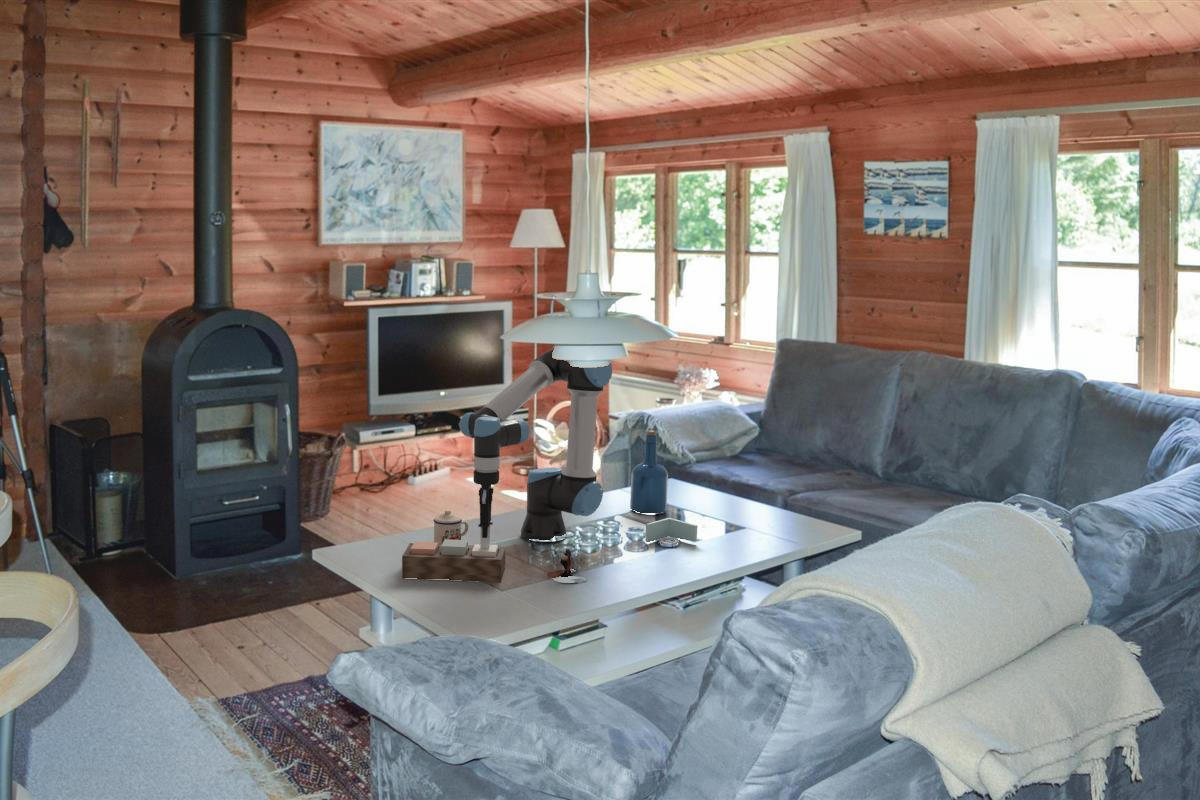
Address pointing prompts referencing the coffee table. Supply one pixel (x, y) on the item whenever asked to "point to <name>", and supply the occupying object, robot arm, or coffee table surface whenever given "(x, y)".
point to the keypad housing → (454, 566)
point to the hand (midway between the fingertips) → (485, 547)
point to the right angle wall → (670, 531)
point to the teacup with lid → (448, 527)
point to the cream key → (485, 551)
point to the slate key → (454, 547)
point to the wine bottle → (649, 481)
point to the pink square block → (424, 548)
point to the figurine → (566, 563)
